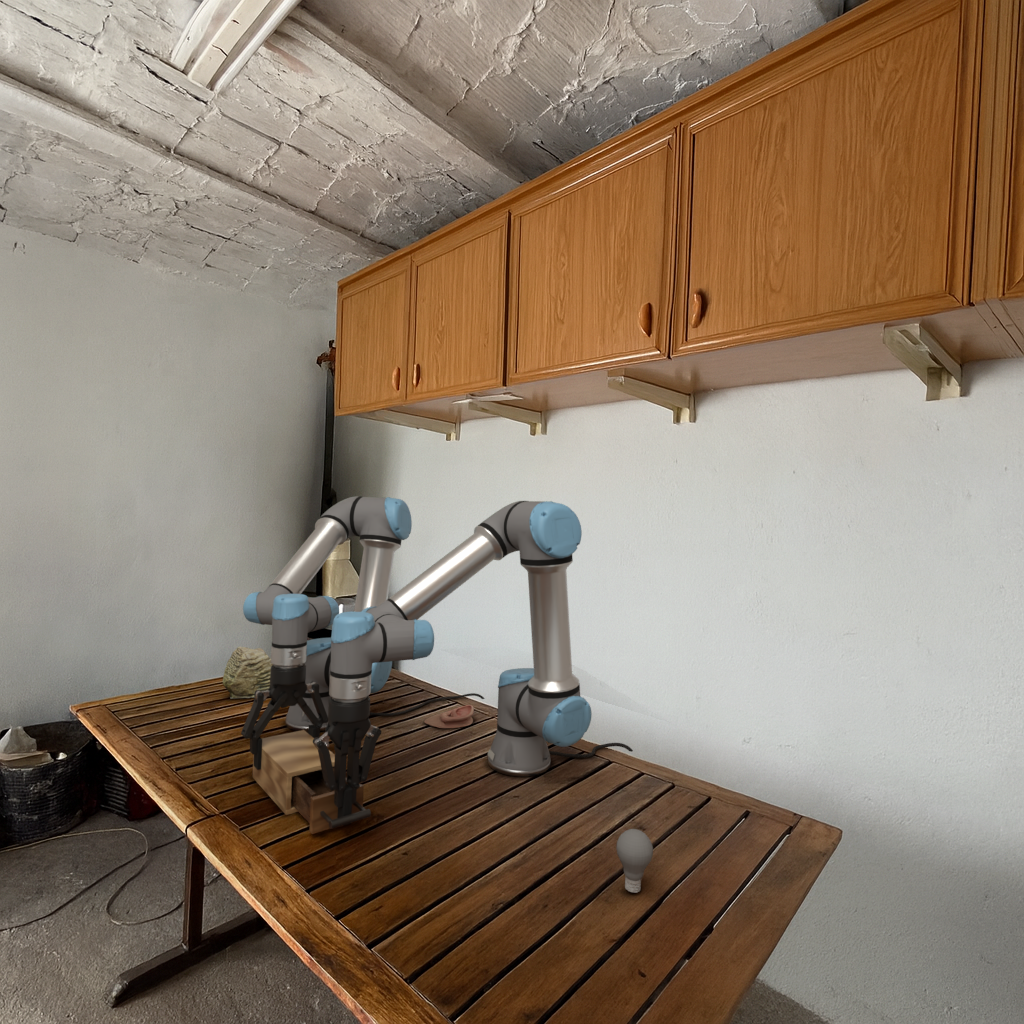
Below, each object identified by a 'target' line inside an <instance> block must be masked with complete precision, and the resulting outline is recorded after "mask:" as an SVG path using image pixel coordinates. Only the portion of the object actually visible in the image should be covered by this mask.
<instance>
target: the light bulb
mask: <svg viewBox="0 0 1024 1024" xmlns="http://www.w3.org/2000/svg"><path fill="white" fill-rule="evenodd" d="M615 849H616V854H617V857H618V859H619V861H620V863H621V865H622V867H623V873H624V874H623V875H624V876H625V878H624V888H625V890H627V891H628V892H630V893H634V894H635V893H639V892H640V891H641V889H642V887H641V886H642V879H643V877H644V875H645V871H646V868H647V867H648V866H649V864H650V863H651V861H652V859H653V855H654V847H653V843H652V841H651V838H649V836H648V835H647V834H646V833H645V832H643V831H642V830H641V829H636V828H629V829H627V830H625V831H623V832H622V833H621V834H620V835H619V837H618V839H617V841H616V847H615Z"/></svg>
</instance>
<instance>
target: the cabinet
mask: <svg viewBox="0 0 1024 1024" xmlns="http://www.w3.org/2000/svg"><path fill="white" fill-rule="evenodd" d="M261 739H262V760H261V769H260V770H257V769H256V768H255V767H254V754H252V755H253V756H252V779H253V780H254V781H255V782H256V783H257V784H258V786H259V787H260V788H261V789H262V790H263V791H264V792H265V794H267V796H268V797H269V798H271V800H272V801H273V802H274V803H275V805H276V806H277V807H278V808H279V809H280V810H281V811H282V813H283V814H284V815H286V816H288V815H292V814H295V813H299V812H298V811H297V810H296V808H295V807H294V806H293V805H292V804H291V791H292V777H293V776H297V775H301V774H305V773H309V772H313V771H317V770H321V769H322V768H321V763H320V758H319V753H318V749H317V748H316V747H315V745H314V744H313V739H314V738H313V737H312V736H311V735H309V734H308V732H306V731H304V730H301V731H293V732H287V733H282V734H277V735H272V736H268V737H267V736H266V737H262V738H261ZM328 750H329V752H330V757H331V762H332V767H334V764H335V753H334V752H333V751H331V750H330V749H328Z"/></svg>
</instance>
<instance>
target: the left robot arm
mask: <svg viewBox="0 0 1024 1024" xmlns="http://www.w3.org/2000/svg"><path fill="white" fill-rule="evenodd" d="M412 525H413V521H412V514H411V510H410V507H409V506H408V504H407V503H406V501H405V500H403V499H400V498H397V497H390V496H387V497H385V496H384V497H383V496H380V497H379V496H362V495H361V496H360V495H359V496H358V495H357V496H350V497H348V498H345V499H342V500H340V501H337V503H335V504H333V505H332V506H331V507H330V508H328V509H327V510H326V511H324V513H322V514H321V516H320V517H319V518H318V519H317V520H316V522H315V524H314V529H313V531H312V532H311V533H310V534H309V536H308V537H307V539H305V541H304V542H303V543H302V544H301V546H300V547H299V548H298V550H296V552H295V553H294V554H293V556H291V558H290V560H289V561H288V562H287V563H286V564H285V565H284V567H283V568H282V569H281V570H280V572H279V573H278V574H277V575H276V577H275V578H274V579H273V580H272V581H271V583H270V584H269V585H268V586H267V587H266V589H265V590H264V591H254V592H252V593H249V594H248V595H247V596H246V598H245V600H244V602H243V605H242V612H243V616H244V618H245V619H246V620H247V621H248V622H250V623H253V624H258V625H262V626H264V625H267V626H271V649H270V650H271V651H270V658H271V663H272V664H273V665H272V666H271V672H270V687H269V689H268V690H266V691H260V690H256V691H255V695H254V697H253V703H252V705H251V708H250V710H249V712H248V715H247V718H246V719H245V721H244V725H243V726H242V729H241V732H240V734H241V736H242V737H243V738H244V739H246V740H248V739H249V752H250V753H251V754H252V755H253V754H254V767H255V768H256V769H257V770H260V769H261V760H262V738H261V737H260V736H261V735H262V734H263V732H264V730H265V729H266V728H267V726H268V725H269V723H270V722H271V720H272V718H273V717H274V716H275V714H276V713H277V712H278V711H279V710H280V708H281V709H285V708H287V707H289V708H288V711H287V713H286V715H285V726H286V728H287V729H289V730H291V731H294V732H296V731H301V730H304V731H306V732H307V733H308V734H309V735H311V736H312V737H313V738H316V737H317V738H320V737H321V732H325V729H326V727H327V725H328V706H329V699H330V698H331V696H330V695H329V684H330V670H331V637H320V638H319V637H318V638H313V639H308V634H309V633H311V632H315V631H318V630H322V629H326V628H328V627H329V626H332V625H333V620H334V618H335V616H336V615H338V614H340V606H339V604H338V602H337V601H336V600H335V598H333V597H332V596H329V595H318V596H316V597H310V596H307V595H306V594H303V592H304V591H305V590H306V588H307V586H308V585H309V584H310V583H311V581H312V580H313V579H314V577H315V576H316V575H317V573H318V572H319V571H320V569H321V568H322V567H323V565H325V563H326V561H327V560H328V558H329V557H330V556H331V555H332V554H333V552H334V551H335V549H336V548H337V547H338V546H340V545H343V544H344V543H345V542H346V541H347V539H350V538H353V537H359V543H360V544H361V546H362V547H363V551H362V558H361V564H360V570H359V578H358V582H357V589H356V596H355V602H354V608H353V610H354V611H353V612H361V611H362V610H364V609H365V608H368V607H374V606H376V607H378V606H379V605H381V604H382V603H383V602H385V601H386V600H387V599H389V593H390V585H391V579H392V578H391V577H392V571H393V564H394V557H395V553H396V551H398V550H399V549H400V548H401V547H402V541H405V540H407V539H408V538H409V537H410V534H411V533H412ZM392 667H393V661H389V662H379V663H372V673H371V693H370V694H376V693H378V692H380V691H381V690H382V689H383V688H384V686H385V685H386V683H387V682H388V680H389V678H390V675H391V671H392ZM471 696H473V697H478V698H480V699H481V700H485V697H484V696H483V695H481V694H479V693H476V692H475V693H474V692H473V693H465V694H460V695H453V696H452V695H451V696H442V697H437V698H432V699H429V700H426V701H424V702H421V703H420V704H418V705H415V706H413V707H410V708H408V709H405V710H400V711H397V712H373V711H370V715H369V716H379V717H381V716H382V717H390V716H399V715H403V714H407V713H410V712H412V711H414V710H416V709H419V708H422V707H423V706H425V705H428V704H430V703H433V702H437V701H444V700H453V699H462V698H465V697H471ZM268 697H269V698H270V700H269V702H268V703H267V707H265V709H264V711H263V713H262V714H261V711H262V709H263V705H264V702H265V701H266V700H267V698H268ZM260 714H261V716H260ZM258 718H259V719H258Z"/></svg>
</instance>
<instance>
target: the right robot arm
mask: <svg viewBox="0 0 1024 1024" xmlns="http://www.w3.org/2000/svg"><path fill="white" fill-rule="evenodd" d="M582 532H583V531H582V525H581V522H580V519H579V517H578V515H577V514H576V513H575V511H573V510H572V509H571V507H569V506H568V505H566V504H563V503H559V502H555V501H552V500H551V501H548V500H546V501H545V500H544V501H543V500H542V501H541V500H539V501H538V500H537V501H535V500H534V501H533V500H517V501H514V502H511V503H509V504H507V505H505V506H504V507H502V508H500V509H499V510H497V511H495V512H494V513H493V514H491V515H489V517H487V518H485V519H484V520H483V521H482V522H480V523H479V524H478V525H476V526H475V527H474V529H473V533H472V535H470V536H468V538H466V539H465V540H464V541H462V542H461V543H460V544H458V545H457V546H456V547H455V548H454V549H452V550H451V551H449V552H448V553H447V554H445V555H444V556H443V557H441V558H440V559H439V560H437V561H436V562H435V563H434V564H432V565H431V566H430V567H428V568H427V569H426V570H425V571H423V572H422V573H420V574H419V575H418V576H417V577H415V578H413V579H412V580H411V581H410V582H408V583H407V584H406V585H405V586H403V587H402V588H400V589H399V590H398V591H397V592H395V593H394V594H393V595H391V596H390V597H388V599H387V600H386V601H385V602H383V603H382V604H381V605H379V606H378V607H376V606H374V607H368V608H365V609H364V610H362V611H361V612H354V611H344V612H339V614H338V615H336V616H335V618H334V620H333V624H332V625H331V626H332V627H331V636H330V638H331V670H330V684H329V695H330V696H331V698H330V699H329V706H328V725H327V727H326V729H325V731H324V733H323V734H322V735H320V738H317V737H316V738H314V739H313V744H314V745H315V747H316V748H317V749H318V753H319V758H320V763H321V768H322V773H323V778H324V783H325V785H326V786H327V787H328V788H329V789H330V790H335V791H334V804H335V805H336V806H337V807H338V818H340V817H343V816H346V815H350V814H352V804H353V803H355V802H356V792H357V789H358V788H359V787H360V785H359V784H361V783H365V782H366V781H367V780H368V776H369V772H370V768H371V764H372V760H373V757H374V753H375V750H376V749H375V748H376V746H377V745H376V744H377V743H378V740H379V738H380V736H381V735H382V730H381V729H380V728H379V727H377V725H372V723H371V720H370V716H371V715H370V712H371V697H370V696H369V695H371V694H372V693H371V673H372V663H379V662H389V661H392V662H399V661H410V660H411V661H415V660H419V659H424V658H427V657H430V655H431V654H432V653H433V650H434V648H435V647H434V646H435V632H434V629H433V626H432V624H431V622H429V620H427V619H420V618H422V617H423V616H424V615H426V613H428V612H429V611H431V610H432V609H433V608H434V607H436V606H437V605H438V604H439V603H441V602H442V601H443V600H444V599H446V598H447V597H448V596H449V595H451V594H452V593H454V591H456V590H457V589H458V588H459V587H461V586H463V585H464V584H465V583H466V582H467V581H468V580H470V579H471V578H472V577H474V576H475V575H476V574H478V573H479V572H480V571H481V570H483V569H484V568H485V567H486V566H488V565H489V564H490V563H491V562H493V561H501V560H502V559H504V558H505V557H506V556H508V555H509V554H513V553H516V552H519V564H520V566H521V567H523V569H524V570H526V572H527V583H528V595H529V597H528V599H529V613H530V631H531V645H532V646H531V647H532V663H533V668H532V667H520V668H510V669H507V670H504V671H502V672H501V673H500V674H499V678H498V684H497V688H498V689H497V690H498V693H497V717H496V719H497V721H496V732H495V735H494V737H493V741H492V743H491V746H490V748H489V749H488V752H487V765H488V766H489V767H490V769H492V770H494V771H495V772H497V773H499V774H502V775H505V776H506V775H507V776H510V777H521V778H522V777H525V778H526V777H534V776H539V775H541V774H544V773H546V772H548V771H549V769H550V767H551V756H556V757H557V756H558V757H563V758H572V759H587V758H591V757H593V756H594V755H595V754H596V752H597V750H600V749H605V748H610V747H611V748H612V747H619V748H624V749H625V750H627V751H628V752H633V751H634V750H633V749H632V748H631V747H630V746H629V745H627V744H625V743H623V742H609V743H603V744H598V745H595V746H594V747H593V748H592V749H591V752H589V753H585V754H581V753H580V754H579V753H578V754H577V753H565V752H560V751H553V750H549V746H548V744H552V745H555V746H557V747H561V748H566V747H570V746H573V745H575V744H576V743H578V742H579V741H580V740H581V739H582V738H583V737H584V735H585V733H586V732H587V731H588V730H589V728H590V725H591V721H592V716H593V715H592V714H593V713H592V707H591V705H590V703H589V702H588V701H587V699H586V698H584V697H582V696H581V687H580V685H581V684H580V683H581V682H580V679H579V677H578V676H576V674H574V673H573V664H572V663H573V662H572V661H573V660H572V643H571V629H570V628H571V627H570V610H569V609H570V608H569V594H568V593H569V592H568V576H567V574H568V573H567V569H568V568H569V566H570V565H571V564H572V563H573V562H574V561H573V559H574V558H573V554H574V553H575V552H576V551H577V550H578V546H579V545H580V544H581V541H582V534H583V533H582ZM363 739H364V740H363ZM330 741H331V742H332V743H333V750H334V754H335V764H334V772H333V767H332V762H331V757H330V752H329V750H330V749H329V747H330ZM362 742H363V744H362ZM346 778H347V783H348V785H347V784H345V782H346ZM351 824H352V823H349V824H346V825H343V826H342V827H345V826H348V825H351Z"/></svg>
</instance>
